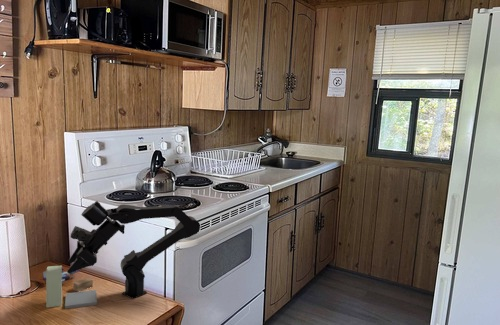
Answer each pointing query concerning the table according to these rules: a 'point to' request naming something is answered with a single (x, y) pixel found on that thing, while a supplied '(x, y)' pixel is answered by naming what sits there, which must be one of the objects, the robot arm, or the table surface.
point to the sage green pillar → (53, 286)
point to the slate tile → (81, 299)
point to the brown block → (82, 284)
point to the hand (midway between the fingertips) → (68, 267)
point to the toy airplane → (64, 275)
